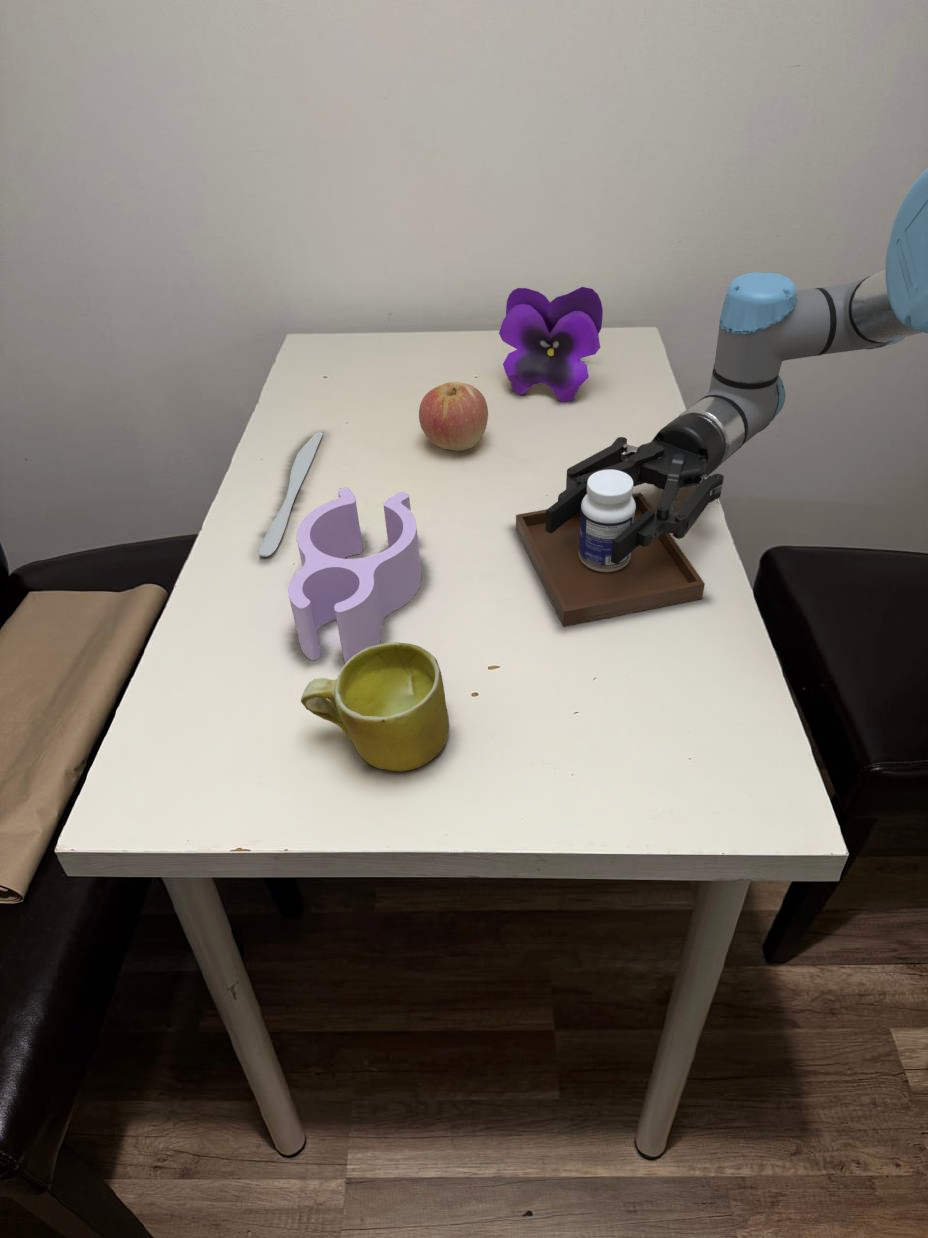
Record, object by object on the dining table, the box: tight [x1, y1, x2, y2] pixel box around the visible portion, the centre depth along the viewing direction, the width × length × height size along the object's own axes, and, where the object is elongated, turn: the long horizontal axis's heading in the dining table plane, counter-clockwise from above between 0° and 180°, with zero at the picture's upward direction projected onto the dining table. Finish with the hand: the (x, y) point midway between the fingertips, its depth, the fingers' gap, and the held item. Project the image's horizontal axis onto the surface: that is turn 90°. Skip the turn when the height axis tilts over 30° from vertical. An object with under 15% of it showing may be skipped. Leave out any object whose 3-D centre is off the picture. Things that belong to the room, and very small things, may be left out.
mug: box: [300, 641, 450, 772], centre depth 78 cm, size 12×10×10 cm
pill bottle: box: [579, 470, 636, 572], centre depth 94 cm, size 6×6×10 cm
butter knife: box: [258, 431, 324, 558], centre depth 110 cm, size 1×27×3 cm
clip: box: [287, 487, 422, 664], centre depth 93 cm, size 20×12×7 cm, turn 169°
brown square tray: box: [515, 492, 706, 627], centre depth 97 cm, size 17×15×2 cm
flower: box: [498, 286, 604, 403], centre depth 127 cm, size 15×15×14 cm
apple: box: [418, 381, 489, 451], centre depth 115 cm, size 9×9×8 cm
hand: (581, 536), depth 91 cm, fingers open, 8 cm apart
